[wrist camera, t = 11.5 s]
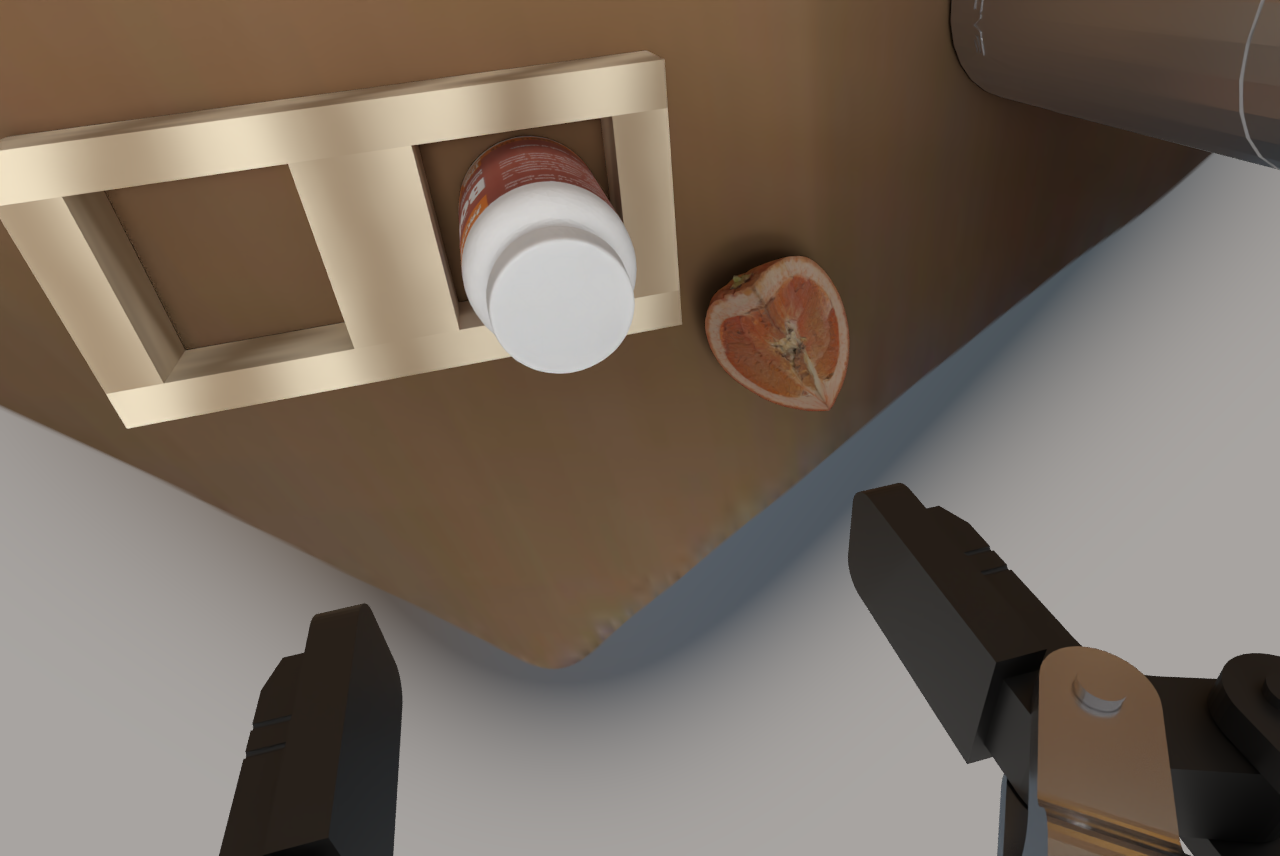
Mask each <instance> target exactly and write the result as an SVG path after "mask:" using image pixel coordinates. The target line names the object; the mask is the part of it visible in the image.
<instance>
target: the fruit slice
mask: <svg viewBox="0 0 1280 856" xmlns="http://www.w3.org/2000/svg"><path fill="white" fill-rule="evenodd" d="M705 330H706V335H707V339H708V342H709V345H710V348H711V350H712V352H713V354H714V356H715V357H716V359H717V361H718V362H719V364H720V365H721V366H722V368H723V369H724V370H725V371H726V372H727V373H728V374H729V375H730V376H731V377H732V378H733V379H734V380H736V381H737V382H738V383H740V384H741V385H742V386H744V387H745V388H747V389H749V390H750V391H752V392H754V393H755V394H757V395H759V396H760V397H762V398H764V399H766V400H768V401H770V402H773V403H775V404H779V405H782V406H785V407H791V408H795V409H800V410H806V411H827V410H830V409H831V407H832V406H833V404H834V403H835V400H836V398H837V396H838V394H839V392H840V390H841V387H842V385H843V381H844V379H845V375H846V371H847V364H848V359H849V347H850V343H849V328H848V322H847V317H846V313H845V309H844V306H843V302H842V300H841V298H840V295H839V293H838V291H837V289H836V287H835V285H834V284H833V282H832V280H831V279H830V278H829V276H828V275H827V274H826V272H825V271H824V270H823V269H822V268H821V267H820V266H819V265H818V264H817V263H816V262H814V261H812V260H811V259H809V258H807V257H802V256H790V257H784V258H780V259H777V260H773V261H770V262H767V263H765V264H762V265H759V266H757V267H755V268H752V269H751V270H749V271H747V273H743V274H741V275H738V276H733V279H732V280H731V281H730V282H729V283H728V284H727V285H726V286H724V287H722V288H721V289H720V290H718V291H717V292H716V293H715V294H714V295H713V297H712V299H711V301H710V304H709V307H708V310H707V315H706V319H705Z"/></svg>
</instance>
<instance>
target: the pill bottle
mask: <svg viewBox="0 0 1280 856" xmlns="http://www.w3.org/2000/svg"><path fill="white" fill-rule="evenodd" d="M458 216H459V232H460V254H461V269H462V277H463V282H464V288H465V291H466V294H467V297H468V300H469V302H470V304H471V306H472V308H473V310H474V311H475V313H476V314H477V316H478V317H479V318H480V320H481V321H482V322H483V324H484V325H485V326H486V327H487V328H488V329H489V330H490V331H491V332H492V333H493V334H495V336H496V338H497V340H498V341H499V343H500V344H501V346H502V347H503V348H504V349H505V351H506V352H507V353H508V354H510V355H511V356H512V357H513V358H514V359H515V360H516V361H518V362H520V363H522V364H523V365H525V366H527V367H530V368H532V369H535V370H538V371H542V372H547V373H558V374H559V373H572V372H576V371H581V370H584V369H586V368H589V367H592V366H594V365H595V364H597V363H599V362H601V361H602V360H604V359H605V358H607V357H608V356H609V355H610V354H612V353H613V352H614V351H615V350H616V349H617V348H618V347H619V345H620V344H621V342H622V341H623V340H624V338H625V336H626V334H627V333H628V331H629V328H630V326H631V323H632V319H633V315H634V306H635V299H634V292H633V291H634V287H635V282H636V271H637V268H636V256H635V251H634V247H633V244H632V241H631V239H630V236H629V234H628V232H627V230H626V228H625V226H624V224H623V222H622V220H621V219H620V217H619V216H618V214H617V212H616V211H615V209H614V208H613V206H612V205H611V203H610V201H609V200H608V198H607V197H606V195H605V194H604V192H603V190H602V189H601V187H600V186H599V184H598V182H597V181H596V179H595V177H594V176H593V174H592V172H591V171H590V169H589V168H588V167H587V165H586V164H585V163H584V162H583V161H582V160H581V159H580V157H579V156H577V155H576V154H575V153H574V152H573V151H572V150H570V149H569V148H567V147H566V146H564V145H562V144H560V143H558V142H556V141H554V140H551V139H548V138H544V137H538V136H518V137H514V138H510V139H506V140H504V141H501V142H499V143H497V144H495V145H493V146H492V147H490V148H489V149H487V150H486V151H485V152H483V153H482V154H481V155H480V156H479V157H478V158H477V159H476V160H475V161H474V163H473V164H472V165H471V167H470V168H469V170H468V172H467V173H466V175H465V178H464V180H463V183H462V186H461V190H460V195H459V204H458Z"/></svg>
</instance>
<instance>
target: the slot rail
mask: <svg viewBox="0 0 1280 856" xmlns="http://www.w3.org/2000/svg"><path fill="white" fill-rule="evenodd" d="M596 118H600V119H601V127H602V136H603V144H604V153H605V162H606V170H607V179H608V187H609V196H610V203H611V205H612V206H613V208H614V209H615V211H616V212H617V214H618V216H619V217H620V219H621V220H622V222H623V224H624V226H625V228H626V230H627V232H628V234H629V236H630V239H631V241H632V244H633V247H634V251H635V256H636V268H637V271H636V282H635V287H634V291H633V292H634V299H635V306H634V315H633V319H632V323H631V326H630V328H629V331H628V333H627V334H626V335H628V334H634V333H639V332H644V331H650V330H655V329H660V328H666V327H671V326H676V325H682V317H681V302H680V287H679V272H678V256H677V241H676V226H675V211H674V196H673V181H672V166H671V151H670V135H669V120H668V105H667V90H666V75H665V60H664V59H663V58H661V57H659V56H657V55H655V54H653V53H651V52H649V51H647V50H645V51H638V52H631V53H623V54H616V55H608V56H601V57H594V58H586V59H579V60H571V61H564V62H557V63H549V64H542V65H535V66H527V67H520V68H512V69H505V70H498V71H490V72H483V73H475V74H468V75H461V76H453V77H446V78H438V79H431V80H424V81H416V82H409V83H402V84H394V85H387V86H379V87H372V88H365V89H357V90H350V91H342V92H335V93H328V94H320V95H313V96H305V97H298V98H291V99H283V100H276V101H268V102H261V103H254V104H246V105H239V106H232V107H224V108H217V109H209V110H202V111H195V112H187V113H180V114H172V115H165V116H158V117H150V118H143V119H135V120H128V121H121V122H113V123H106V124H98V125H91V126H84V127H76V128H69V129H62V130H54V131H47V132H39V133H32V134H25V135H17V136H10V137H6V138H3V139H1V140H0V219H1V221H2V223H3V224H4V226H5V228H6V229H7V231H8V233H9V234H10V236H11V238H12V239H13V241H14V243H15V244H16V246H17V247H18V249H19V251H20V252H21V254H22V256H23V257H24V259H25V261H26V262H27V264H28V266H29V267H30V269H31V271H32V272H33V274H34V276H35V277H36V279H37V281H38V282H39V284H40V286H41V287H42V289H43V290H44V292H45V294H46V295H47V297H48V299H49V300H50V302H51V304H52V305H53V307H54V309H55V310H56V312H57V314H58V315H59V317H60V319H61V320H62V322H63V324H64V325H65V327H66V329H67V330H68V332H69V334H70V335H71V337H72V338H73V340H74V342H75V343H76V345H77V347H78V348H79V350H80V352H81V353H82V355H83V357H84V358H85V360H86V362H87V363H88V365H89V367H90V368H91V370H92V372H93V373H94V375H95V377H96V378H97V380H98V382H99V383H100V385H101V386H102V388H103V390H104V391H105V393H106V395H107V396H108V398H109V400H110V401H111V403H112V405H113V406H114V408H115V410H116V411H117V413H118V415H119V416H120V418H121V420H122V421H123V423H124V425H125V426H126V428H132V427H138V426H143V425H148V424H154V423H159V422H164V421H170V420H175V419H180V418H186V417H191V416H196V415H202V414H207V413H212V412H218V411H223V410H228V409H234V408H239V407H244V406H250V405H255V404H260V403H266V402H271V401H276V400H282V399H287V398H292V397H298V396H303V395H308V394H314V393H319V392H324V391H330V390H335V389H340V388H346V387H351V386H356V385H362V384H367V383H372V382H378V381H383V380H388V379H394V378H399V377H404V376H410V375H415V374H420V373H426V372H431V371H436V370H442V369H447V368H452V367H458V366H463V365H468V364H474V363H479V362H484V361H490V360H495V359H500V358H506V357H511V355H510V354H508V353H507V352H506V351H505V349H504V348H503V347H502V346H501V344H500V343H499V341H498V340H497V338H496V336H495V334H493V333H492V332H491V331H490V330H489V329H488V328H487V327H486V326H485V325H484V324H483V322H482V321H481V320H480V318H479V317H478V316H477V314H476V313H475V311H474V310H473V308H472V306H471V304H470V302H469V301H463V302H458V299H457V295H456V291H455V287H454V283H453V279H452V275H451V271H450V267H449V263H448V260H447V256H446V252H445V248H444V244H443V240H442V236H441V232H440V228H439V224H438V220H437V217H436V213H435V209H434V205H433V201H432V197H431V193H430V189H429V185H428V181H427V177H426V174H425V170H424V166H423V162H422V158H421V154H420V150H419V146H418V145H419V144H425V143H432V142H439V141H446V140H453V139H460V138H466V137H473V136H480V135H487V134H494V133H501V132H507V131H514V130H521V129H528V128H535V127H541V126H548V125H555V124H562V123H569V122H576V121H582V120H589V119H596ZM282 164H288V165H289V168H290V171H291V173H292V176H293V179H294V182H295V185H296V187H297V190H298V193H299V196H300V198H301V201H302V204H303V207H304V210H305V212H306V215H307V218H308V221H309V224H310V226H311V229H312V232H313V235H314V237H315V240H316V243H317V246H318V249H319V251H320V254H321V257H322V260H323V263H324V265H325V268H326V271H327V274H328V276H329V279H330V282H331V285H332V288H333V290H334V293H335V296H336V299H337V302H338V304H339V307H340V310H341V313H342V315H343V318H344V321H345V322H344V323H338V324H333V325H327V326H321V327H316V328H310V329H304V330H299V331H293V332H287V333H281V334H276V335H270V336H264V337H259V338H253V339H247V340H242V341H236V342H230V343H225V344H219V345H213V346H208V347H202V348H196V349H191V350H185V349H184V347H183V345H182V343H181V341H180V339H179V337H178V335H177V333H176V331H175V329H174V327H173V325H172V323H171V321H170V319H169V317H168V315H167V313H166V312H165V310H164V308H163V306H162V304H161V302H160V300H159V298H158V296H157V294H156V292H155V290H154V288H153V286H152V284H151V282H150V280H149V278H148V276H147V274H146V272H145V270H144V268H143V266H142V264H141V262H140V261H139V259H138V257H137V255H136V253H135V251H134V249H133V247H132V245H131V243H130V241H129V239H128V237H127V235H126V233H125V231H124V229H123V227H122V225H121V223H120V221H119V219H118V217H117V215H116V213H115V212H114V210H113V208H112V206H111V204H110V202H109V200H108V198H107V196H106V194H105V192H104V191H105V190H112V189H118V188H125V187H132V186H139V185H146V184H153V183H159V182H166V181H173V180H180V179H187V178H194V177H200V176H207V175H214V174H221V173H228V172H234V171H241V170H248V169H255V168H262V167H269V166H275V165H282Z"/></svg>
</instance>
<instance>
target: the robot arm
mask: <svg viewBox="0 0 1280 856" xmlns="http://www.w3.org/2000/svg"><path fill="white" fill-rule="evenodd" d="M951 28H952V36H953V43H954V47H955V50H956V52H957V55H958V58H959V61H960V63H961V65H962V67H963V68H964V70H965V71H966V73H967V74H968V76H969V77H970V78H971V80H972V81H974V82H975V83H976V84H977V85H978V86H980V87H981V88H982V89H983V90H985V91H987V92H989V93H992V94H994V95H997V96H999V97H1002V98H1006V99H1010V100H1014V101H1017V102H1021V103H1025V104H1029V105H1033V106H1037V107H1040V108H1044V109H1048V110H1052V111H1055V112H1058V113H1061V114H1065V115H1069V116H1073V117H1077V118H1081V119H1085V120H1089V121H1092V122H1096V123H1100V124H1104V125H1108V126H1112V127H1116V128H1120V129H1123V130H1127V131H1131V132H1135V133H1139V134H1143V135H1147V136H1150V137H1154V138H1158V139H1162V140H1166V141H1170V142H1174V143H1178V144H1181V145H1185V146H1189V147H1193V148H1197V149H1201V150H1205V151H1209V152H1212V153H1216V154H1220V155H1224V156H1228V157H1232V158H1236V159H1239V160H1243V161H1247V162H1251V163H1255V164H1259V165H1263V166H1267V167H1271V168H1274V169H1278V170H1280V0H952V4H951ZM848 565H849V570H850V574H851V578H852V581H853V583H854V586H855V588H856V590H857V592H858V594H859V596H860V597H861V599H862V600H863V602H864V603H865V605H866V606H867V608H868V610H869V611H870V613H871V614H872V616H873V617H874V619H875V621H876V622H877V624H878V625H879V627H880V628H881V630H882V631H883V633H884V635H885V636H886V638H887V639H888V641H889V643H890V644H891V646H892V647H893V649H894V650H895V652H896V653H897V655H898V657H899V658H900V660H901V661H902V663H903V664H904V666H905V667H906V669H907V670H908V672H909V674H910V675H911V677H912V678H913V680H914V681H915V683H916V685H917V686H918V688H919V689H920V691H921V693H922V694H923V696H924V697H925V699H926V700H927V702H928V703H929V705H930V707H931V708H932V710H933V711H934V713H935V714H936V716H937V718H938V719H939V720H940V722H941V724H942V725H943V727H944V728H945V730H946V732H947V733H948V735H949V736H950V738H951V739H952V741H953V742H954V744H955V746H956V747H957V749H958V750H959V752H960V753H961V755H962V756H963V758H964V759H965V761H966V763H967V764H969V763H973V762H976V761H979V760H983V759H987V758H990V757H993V758H994V759H995V761H996V762H997V764H998V765H999V766H1000V768H1001V770H1002V771H1003V772H1004V775H1003V778H1002V784H1001V798H1000V815H999V833H998V851H997V856H1190V855H1187V854H1185V853H1184V851H1183V850H1182V847H1181V843H1180V839H1179V837H1180V838H1181V840H1182V841H1183V842H1184V844H1185V845H1186V846H1187V847H1188V849H1189V850H1190V851H1191V853H1192V854H1193V855H1194V856H1280V657H1279V656H1275V655H1270V654H1261V653H1251V654H1243V655H1240V656H1237V657H1234V658H1233V659H1231V660H1229V661H1228V662H1227V663H1226V665H1225V666H1224V668H1223V670H1222V671H1221V673H1220V675H1219V677H1218V678H1217V679H1205V678H1180V677H1160V676H1148V675H1143V674H1142V673H1141V672H1140V671H1139V670H1138V669H1137V668H1135V667H1134V666H1133V665H1131V664H1129V663H1128V662H1127V661H1125V660H1123V659H1121V658H1119V657H1117V656H1115V655H1113V654H1111V653H1108V652H1106V651H1102V650H1099V649H1095V648H1090V647H1082V646H1081V645H1080V644H1079V643H1078V642H1077V641H1076V640H1075V639H1074V638H1073V637H1072V636H1071V635H1070V634H1069V632H1068V631H1067V630H1066V629H1065V628H1064V627H1063V626H1062V625H1061V624H1060V622H1059V621H1058V620H1057V619H1055V617H1054V616H1053V615H1052V614H1051V613H1050V612H1049V611H1048V609H1047V608H1046V607H1045V606H1044V605H1043V604H1042V603H1041V602H1040V601H1039V600H1038V598H1037V597H1036V596H1035V595H1034V594H1033V593H1032V592H1031V591H1030V590H1029V589H1028V587H1027V586H1026V585H1025V584H1024V583H1023V582H1022V581H1021V580H1020V579H1019V578H1018V577H1017V576H1016V574H1015V573H1014V572H1013V571H1012V570H1008V568H1007V564H1006V563H1005V562H1004V561H1003V560H1002V559H1001V558H1000V557H999V556H998V555H997V554H996V553H995V551H991V550H990V546H989V545H988V544H987V543H986V541H985V540H984V539H983V538H982V537H981V536H980V535H979V534H978V533H977V532H976V531H975V530H974V528H973V527H972V526H971V525H970V524H969V523H968V522H966V521H964V520H962V519H961V518H959V517H957V516H956V515H954V514H952V513H950V512H949V511H947V510H945V509H944V508H942V507H940V506H936V507H932V508H927V509H926V508H925V507H924V505H923V504H922V503H921V502H920V501H919V500H918V498H917V497H916V496H915V495H914V494H913V493H912V491H911V490H910V489H909V488H908V487H907V486H905V485H904V484H902V483H896V484H892V485H888V486H883V487H879V488H875V489H870V490H866V491H861V492H858V493H856V495H855V496H854V499H853V507H852V518H851V529H850V540H849V552H848ZM401 720H402V688H401V681H400V676H399V672H398V668H397V665H396V663H395V661H394V658H393V656H392V654H391V652H390V650H389V647H388V645H387V643H386V641H385V639H384V636H383V634H382V632H381V630H380V628H379V626H378V623H377V621H376V619H375V617H374V615H373V612H372V610H371V609H370V607H369V606H368V605H367V604H360V605H355V606H351V607H347V608H342V609H338V610H333V611H329V612H325V613H320V614H316V615H315V616H314V617H313V618H312V621H311V624H310V628H309V633H308V638H307V642H306V648H305V652H304V653H301V654H297V655H293V656H289V657H284V658H282V660H281V661H280V663H279V665H278V666H277V667H276V669H275V670H274V672H273V673H272V675H271V676H270V678H269V679H268V681H267V682H266V684H265V685H264V687H263V688H262V690H261V693H260V697H259V701H258V704H257V709H256V712H255V716H254V720H253V730H252V731H251V732H250V736H249V740H248V744H247V748H246V759H244V760H243V763H242V767H241V771H240V775H239V779H238V783H237V787H236V791H235V795H234V799H233V803H232V807H231V810H230V815H229V819H228V823H227V826H226V830H225V835H224V838H223V842H222V846H221V850H220V854H219V856H393V850H394V834H395V817H396V800H397V785H398V768H399V751H400V736H401Z"/></svg>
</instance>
